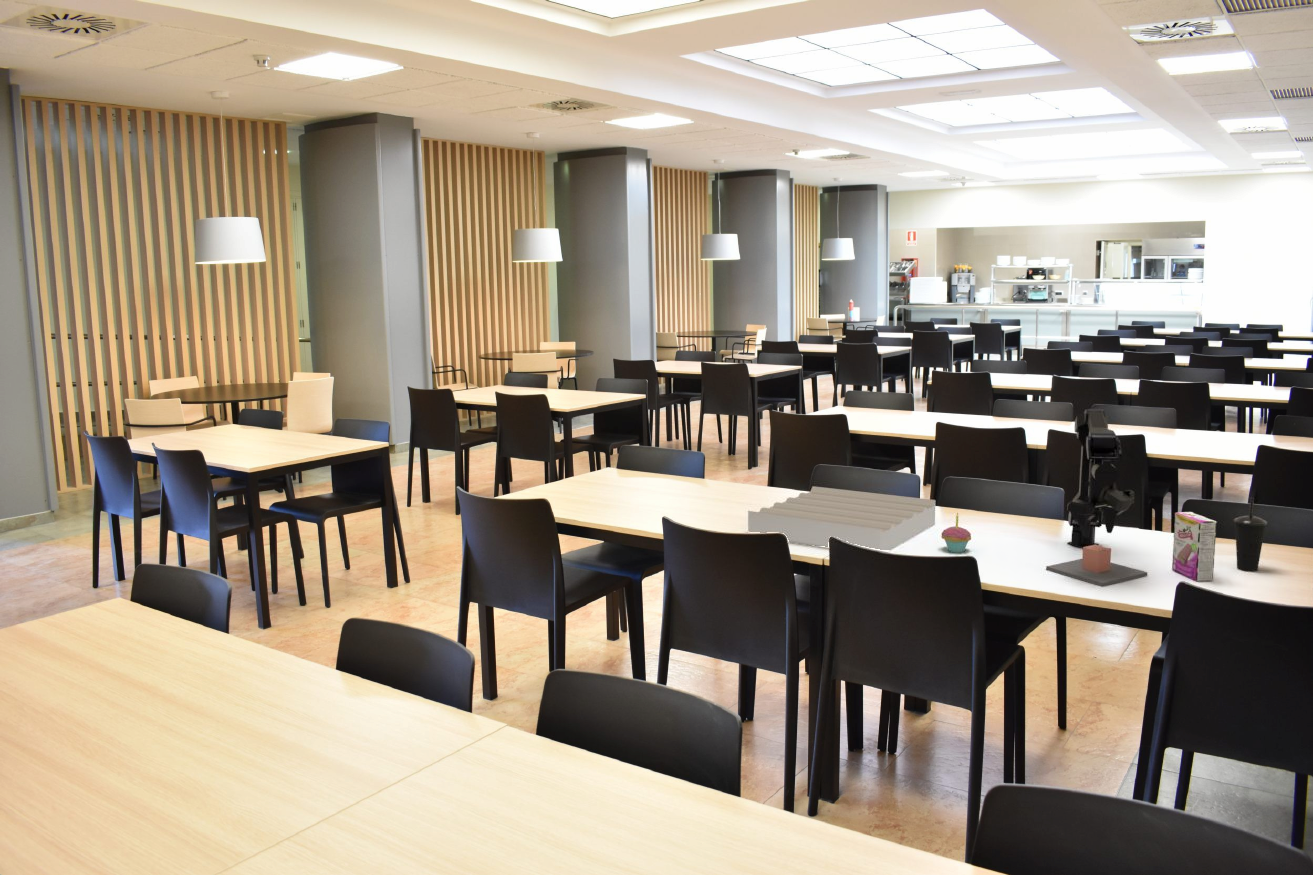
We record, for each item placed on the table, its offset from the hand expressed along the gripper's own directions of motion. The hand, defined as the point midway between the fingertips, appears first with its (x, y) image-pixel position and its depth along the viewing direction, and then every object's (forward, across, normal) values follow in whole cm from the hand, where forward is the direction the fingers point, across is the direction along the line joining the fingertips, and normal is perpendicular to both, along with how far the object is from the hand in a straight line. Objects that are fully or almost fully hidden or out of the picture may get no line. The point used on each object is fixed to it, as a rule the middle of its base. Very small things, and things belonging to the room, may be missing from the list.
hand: (1097, 535), depth 265 cm
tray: (+11, -28, +74) cm, 80 cm away
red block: (+10, 0, 0) cm, 10 cm away
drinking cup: (+11, +37, -19) cm, 43 cm away
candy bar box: (+11, +19, -15) cm, 27 cm away
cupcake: (+11, -15, +37) cm, 41 cm away
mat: (+11, 0, 0) cm, 11 cm away
